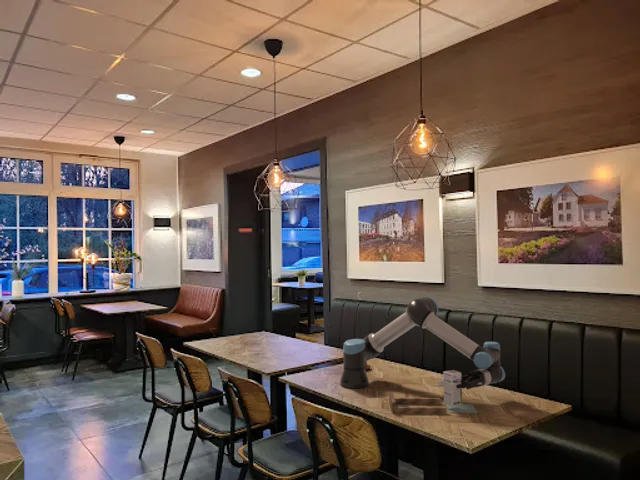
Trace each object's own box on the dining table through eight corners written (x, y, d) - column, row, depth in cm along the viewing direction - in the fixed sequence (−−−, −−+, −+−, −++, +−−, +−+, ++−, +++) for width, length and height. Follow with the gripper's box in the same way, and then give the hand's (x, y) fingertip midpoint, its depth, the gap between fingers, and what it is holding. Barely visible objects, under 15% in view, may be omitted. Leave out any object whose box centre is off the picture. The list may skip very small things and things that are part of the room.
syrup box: (452, 406, 219) (452, 373, 219) (443, 403, 224) (443, 370, 224) (462, 404, 221) (461, 372, 222) (453, 401, 227) (452, 369, 227)
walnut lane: (392, 413, 217) (392, 402, 217) (389, 403, 232) (389, 392, 232) (446, 414, 216) (446, 402, 216) (439, 403, 231) (439, 392, 231)
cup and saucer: (369, 372, 292) (369, 361, 292) (349, 371, 295) (349, 360, 295) (371, 367, 304) (371, 357, 304) (352, 366, 306) (352, 356, 307)
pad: (450, 412, 217) (450, 412, 217) (444, 404, 229) (444, 403, 229) (478, 413, 217) (478, 412, 217) (471, 404, 229) (471, 404, 229)
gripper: (496, 390, 225) (461, 399, 212) (462, 381, 241) (428, 389, 228) (495, 374, 225) (461, 381, 212) (462, 366, 241) (428, 372, 228)
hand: (444, 385), depth 220 cm, fingers closed on syrup box, 6 cm apart
